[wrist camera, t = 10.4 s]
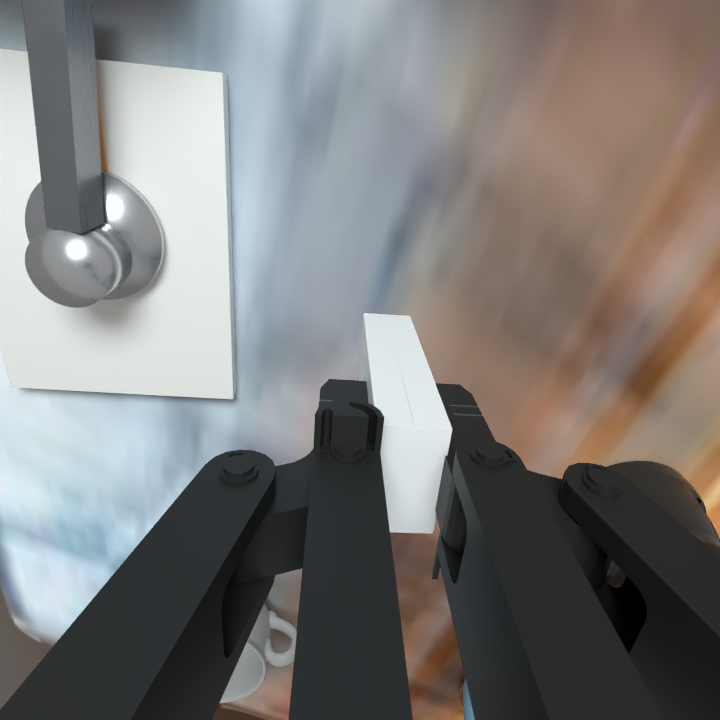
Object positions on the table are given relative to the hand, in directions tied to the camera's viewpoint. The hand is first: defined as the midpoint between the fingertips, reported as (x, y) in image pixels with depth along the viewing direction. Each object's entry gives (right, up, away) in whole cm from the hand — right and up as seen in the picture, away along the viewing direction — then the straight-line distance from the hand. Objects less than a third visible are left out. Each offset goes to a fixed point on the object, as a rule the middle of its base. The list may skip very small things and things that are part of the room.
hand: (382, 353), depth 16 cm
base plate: (-20, +8, +20) cm, 29 cm away
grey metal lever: (-18, +13, +16) cm, 27 cm away
